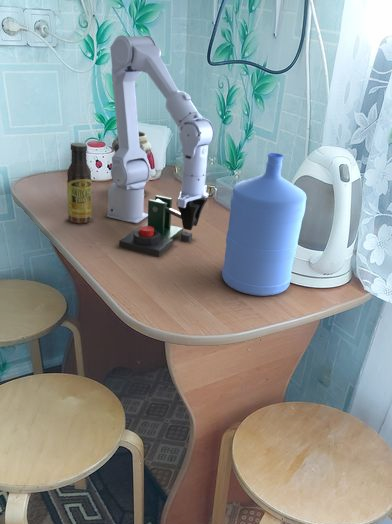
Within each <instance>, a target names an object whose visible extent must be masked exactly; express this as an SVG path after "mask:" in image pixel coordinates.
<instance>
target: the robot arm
mask: <svg viewBox="0 0 392 524" xmlns="http://www.w3.org/2000/svg"><path fill="white" fill-rule="evenodd" d="M109 48H110V49H109V50H110V59H111V60H110V61H111V80H112V81H111V82H112V91H113V102H114V110H115V121H116V123H115V124H116V132H117V136H118V143H119V149H118V150H117V152H115V153H114V154H113V155H112V156H111V168H110V176H111V180H112V183H111V184H110V186H109V187H108V191H107V215H106V217H107V218H111V219H114V220H118V221H123V222H128V223H130V224H131V223H132V224H138V223H140V222H141V221H142V220H145V219H146V218H148V212H144V204H145V203H144V202H145V201H144V200H145V196H144V190H145V186H146V185H147V183H146V181H147V180H148V179H149V177H150V175H151V173H152V172H151V167H150V163H149V161H148V155H147V154H146V153H145V152H144V151H143V150H142V149H141V148H140V144H139V132H138V131H139V122H138V107H137V98H136V96H137V95H136V85H135V81H136V79H137V78H138V77H139V76H140V74H141V73H145V74H147V75H148V76H149V78H150V79H151V81H152V82H153V84H154V85H155V86H156V88H157V89H158V91H160V93H161V95H162V96H163V97H164V98H165V110H167V112H168V114H169V115H170V117H171V119H172V120H173V122H174V123H175V125H176V126H177V128H178V130H179V131H180V132H178V137H179V140H180V143H181V146H182V148H181V152H182V155H183V158H182V170H181V171H182V173H181V189H180V191H179V196H178V197H177V199H176V207H177V210H178V212H180V214H181V218H182V219H181V218H180V219H181V222H182V223H181V224H182V228H183V230H187V231H192V229H193V227H197V225H198V224H199V220H200V217H201V214H202V211H203V209H204V207H205V205H206V204H207V201H208V198H209V193H208V192H207V188H208V185H207V184H206V178H207V177H206V175H207V167H208V155H209V145H210V144H212V142H213V141H214V138H215V128H214V125H213V124H212V121H211V120H209V119H208V118H204V117H203V115H201V113H200V112H199V111H198V110H197V108H196V107H195V105H194V103H193V102H192V100H191V99H192V97H191V96H190V94H189V93H187V92H186V91H183V90H179V88H178V87H177V85H176V83H175V82H174V80H173V78H172V76H171V74H170V72H169V70H168V68H167V66H166V65H165V63H164V61H163V59H162V57H161V54H162V53H161V52H162V51H161V48H160V47H159V46H158V45H157V43H156V40H155V39H154V38H153V37H152V36H149V35H143V36H133V35H132V36H130V35H128V36H127V35H123V34H121V35H118V36H116V38H115V39H114V41H113V42H112V43H111V45H110V47H109ZM133 159H134V160H133ZM150 178H151V177H150ZM195 217H196V219H197V221H196V224H195V225H194V226H193V223H194V218H195Z"/></svg>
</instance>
